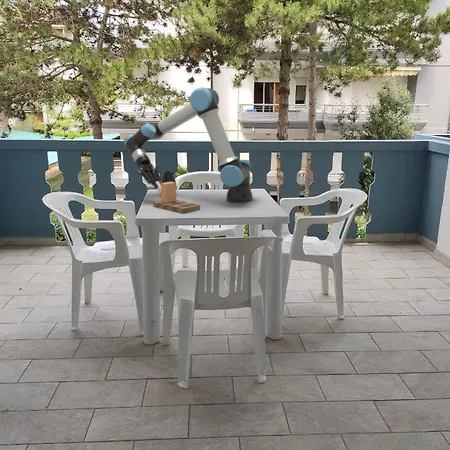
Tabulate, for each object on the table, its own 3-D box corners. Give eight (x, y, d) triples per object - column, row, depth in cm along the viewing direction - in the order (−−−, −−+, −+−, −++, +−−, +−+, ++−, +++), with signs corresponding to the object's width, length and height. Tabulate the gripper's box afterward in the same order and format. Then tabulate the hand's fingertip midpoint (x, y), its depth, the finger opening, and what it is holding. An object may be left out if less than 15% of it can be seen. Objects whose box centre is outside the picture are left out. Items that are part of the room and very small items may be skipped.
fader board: (153, 206, 239) (153, 201, 238) (170, 203, 247) (170, 198, 247) (182, 213, 223) (182, 208, 222) (200, 209, 231) (200, 204, 231)
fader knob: (161, 201, 237) (160, 183, 235) (171, 199, 242) (170, 181, 240) (166, 202, 235) (165, 184, 232) (176, 200, 240) (175, 182, 237)
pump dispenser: (169, 197, 263) (168, 171, 259) (156, 195, 269) (155, 170, 265) (180, 194, 271) (180, 169, 267) (167, 192, 277) (166, 168, 273)
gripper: (148, 162, 255) (167, 194, 248) (129, 164, 246) (149, 198, 239) (153, 153, 250) (173, 186, 243) (134, 155, 241) (154, 189, 234)
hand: (161, 192), depth 241 cm, fingers closed
